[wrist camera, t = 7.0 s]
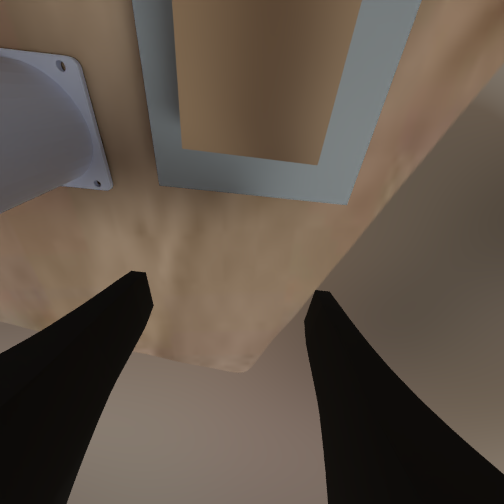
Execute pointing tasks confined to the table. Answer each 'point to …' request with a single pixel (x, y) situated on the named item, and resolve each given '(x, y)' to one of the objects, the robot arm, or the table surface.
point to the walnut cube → (260, 74)
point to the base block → (265, 170)
